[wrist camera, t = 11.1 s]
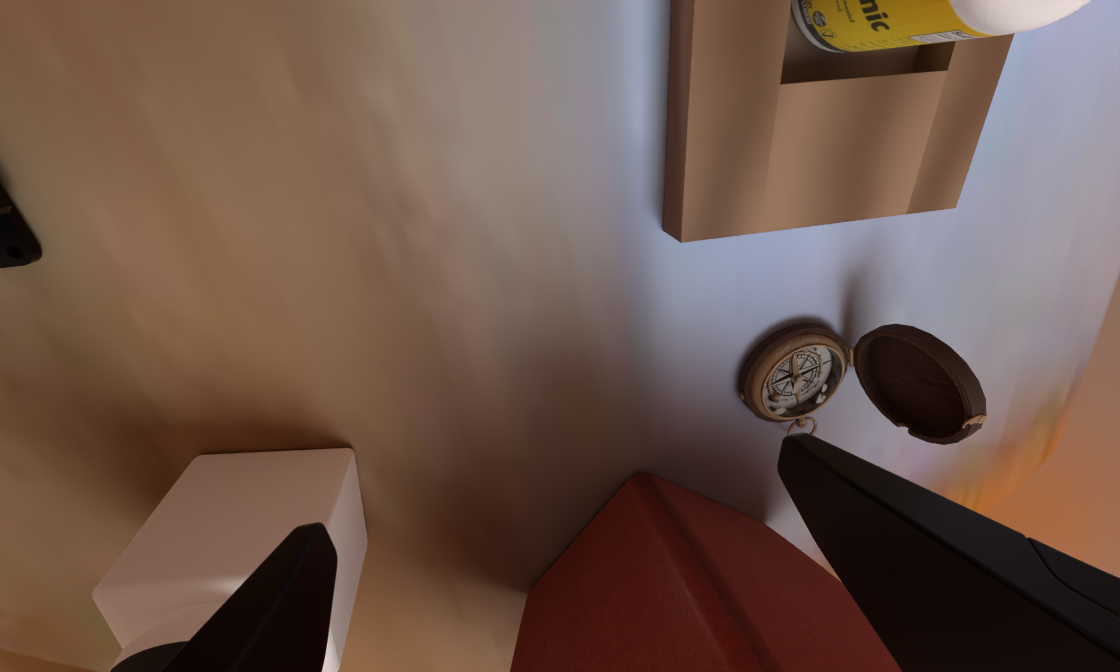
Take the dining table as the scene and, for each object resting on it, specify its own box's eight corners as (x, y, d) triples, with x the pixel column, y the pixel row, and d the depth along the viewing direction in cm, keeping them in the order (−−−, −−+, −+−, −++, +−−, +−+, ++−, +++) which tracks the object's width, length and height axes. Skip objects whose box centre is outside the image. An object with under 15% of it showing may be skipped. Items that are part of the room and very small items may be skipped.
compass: (726, 348, 24) (817, 435, 18) (864, 292, 24) (1004, 360, 18) (746, 450, 28) (827, 551, 22) (865, 402, 28) (980, 490, 22)
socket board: (662, 230, 21) (680, 242, 19) (681, -270, 13) (713, -326, 12) (917, 199, 22) (955, 207, 20) (1053, -263, 15) (1130, -310, 13)
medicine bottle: (230, 553, 25) (54, 888, 14) (194, 451, 21) (-67, 787, 11) (369, 541, 26) (303, 838, 16) (355, 444, 23) (259, 735, 12)
